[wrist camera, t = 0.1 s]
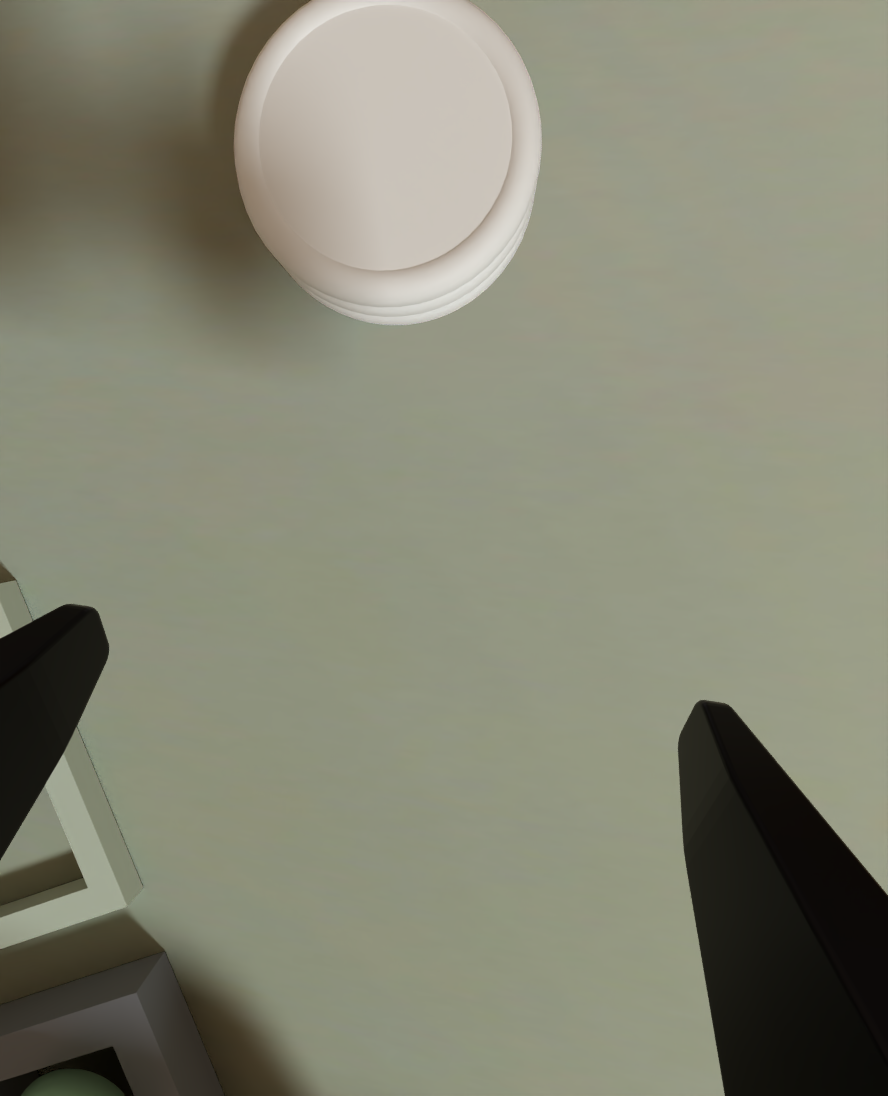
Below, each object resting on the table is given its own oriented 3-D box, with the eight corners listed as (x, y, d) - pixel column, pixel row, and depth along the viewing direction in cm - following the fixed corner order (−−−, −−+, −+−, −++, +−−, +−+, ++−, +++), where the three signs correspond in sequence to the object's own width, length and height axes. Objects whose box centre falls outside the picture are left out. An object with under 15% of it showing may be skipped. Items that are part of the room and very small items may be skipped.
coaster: (307, 12, 23) (276, -73, 20) (571, 90, 23) (587, 17, 20) (233, 285, 24) (191, 249, 21) (485, 363, 24) (486, 340, 20)
